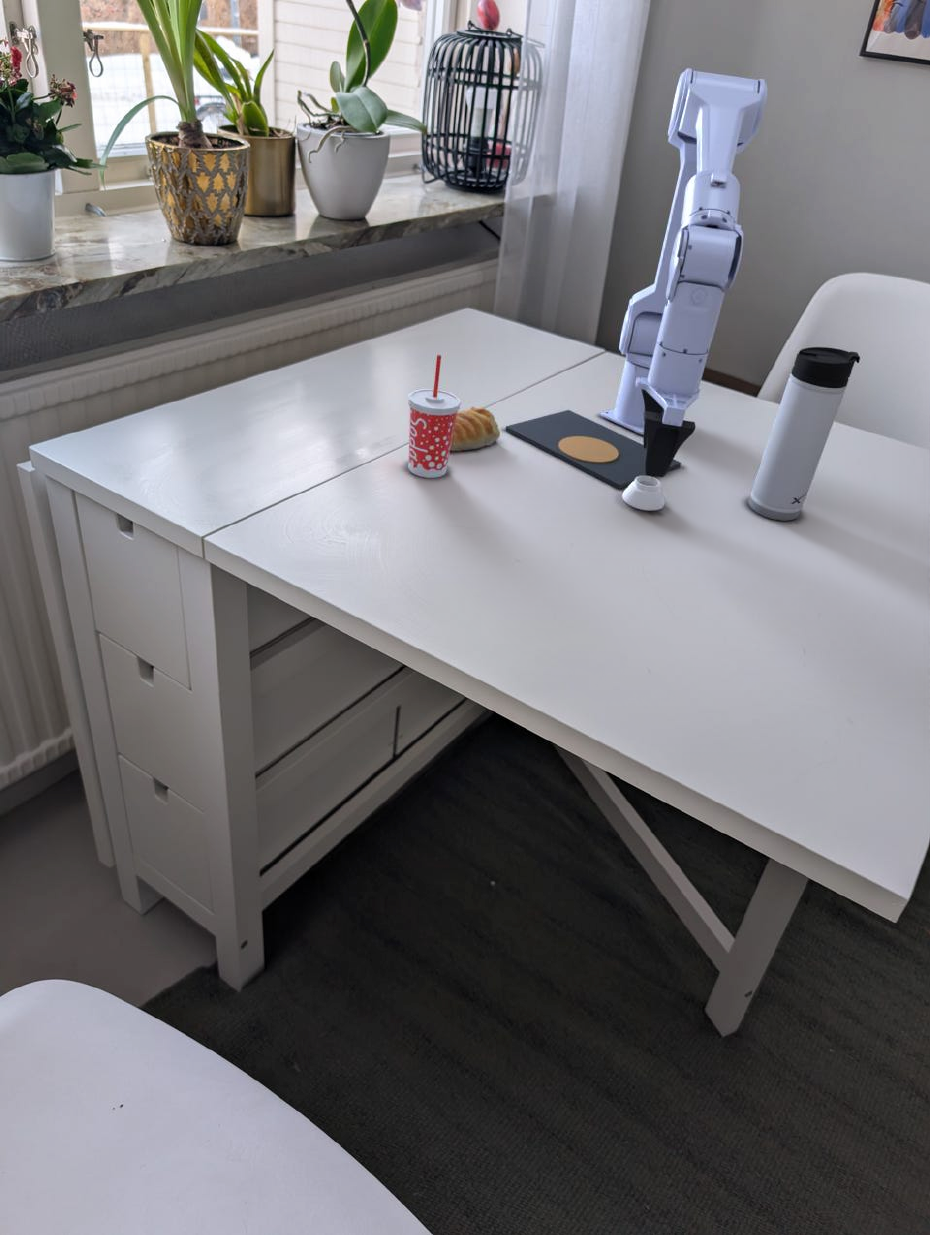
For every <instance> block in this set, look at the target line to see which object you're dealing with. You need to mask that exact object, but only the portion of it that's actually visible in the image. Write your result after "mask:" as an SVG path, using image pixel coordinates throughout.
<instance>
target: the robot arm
mask: <svg viewBox="0 0 930 1235" xmlns="http://www.w3.org/2000/svg"><path fill="white" fill-rule="evenodd" d="M767 98H768V85H767V83H766V80H765V79H764V78H758V79H754V78H747V77H740V76H732V75H728V74H727V75H726V74H720V73H714V72H713V73H712V72H705V71H698V70H693V69H692V68H689V67H688V68H686V69H685V70H684V71H683V72H682V73H681V74H680V76H679V79H678V82H677V87H676V91H675V95H674V101H673V104H672V110H671V115H670V120H669V121H670V122H669V125H668V131H667V136H668V140H667V142H668V143H669V144H671V145H672V146H673V147H675V148H677V149H678V150H679V156H680V167H679V168H680V169H679V174H678V179H677V182H676V186H675V191H674V195H673V200H672V203H671V208H670V213H669V216H668V221H667V226H666V230H665V234H664V235H665V236H664V239H663V242H662V248H661V252H660V256H659V261H658V266H657V270H656V274H655V279H654V283H652V284H651V285H649V286H648V287H645V288H644V289H641V290H640V291H638V292H636V293H634V294H633V295H632V297H631V298H630V299H629V302H628V306H627V310H626V312H625V315H624V319H623V323H622V327H621V333H620V338H619V345H618V346H619V347H618V349H619V351H620V353H621V355H622V356H623V355H624V356H625V361H624V365H623V370H622V375H621V380H620V384H619V387H618V392H617V398H616V402H615V406H614V408H613V409H609V410H605V411H602V412H601V414H600V416H601V417H602V418H604V419H607V420H608V421H611V422H613V423H615V424H618V425H620V426H622V427H624V428H626V429H628V430H630V431H633V432H634V433H637V434H639V435H642V437H643V439H642V440H643V441H642V442H643V444H642V445H644V448H646V459H645V472H646V475H651V476H653V477H657V478H664V477H665V476H666V474H667V472H668V471H667V470H668V469H669V467H670V465H671V463H672V461H673V459H674V460H675V456H676V455H677V453H678V452H679V450H680V448H681V447H682V445H683V444H684V443H685V442H686V440H687V439H689V437H690V436H691V435H693V433H694V432H695V430H696V426H697V425H696V421H692V420H685V419H684V418H685V415H686V412H687V410H688V409H689V408H690V407H691V406H692V405H693V404H694V403H695V402H696V401H697V400H698V399H699V397H700V394H701V393H700V392H701V389H700V386H701V382H702V378H703V374H704V371H705V368H706V364H707V360H708V356H709V353H710V349H711V345H712V343H713V338H714V334H715V330H716V326H717V324H718V320H719V316H720V312H721V309H722V306H723V302H724V298H725V294H726V293H725V290H726V291H727V292H729V291H730V290H731V289H732V287H733V284H734V282H735V280H736V278H737V277H736V276H738V272H739V268H740V265H741V261H742V256H743V248H744V247H743V246H744V231H743V230H742V225H741V224H738V220H739V219H738V218H739V208H740V198H741V185H740V182H739V180H738V178H737V177H736V175H734V174H733V173H732V171H733V168H734V164H735V159H736V155H738V154H741V153H742V152H743V151H744V150H745V148H746V147H747V146H748V145H749V144H750V142H751V141H752V140H753V138H754V137H755V136H756V135H757V133H758V131H759V128H760V125H761V123H762V122H761V121H762V119H763V115H764V113H765V109H766V104H767V103H766V102H767ZM724 288H725V290H724Z"/></svg>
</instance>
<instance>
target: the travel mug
mask: <svg viewBox="0 0 930 1235" xmlns="http://www.w3.org/2000/svg"><path fill="white" fill-rule="evenodd" d="M860 360H861V357H860V355H859V353H858V352H857V351H847V350H845V349H840V348H836V347H828V346H826V347H825V346H811V347H804V348H801V349H799V351H798V353H797V354H796V357H795V360H794V365H793V366H792V369H791V371H790V373H789V378H788V379H787V382H786V386H785V389H784V392H783V394H782V398H781V401H780V404H779V407H778V409H777V413H776V416H775V419H774V421H773V426H772V427H771V432H770V433H769V437H768V441H767V443H766V447H765V450H764V453H763V455H762V459H761V462H760V464H759V468H758V471H757V474H756V477H755V480H754V483H753V486H752V490H751V492H750V495H749V498H748V506H749V508H750V509H751V510H752V511H754V512H755V513H756V514H758V515H760V516H761V517H765V518H767V519H771V520H775V521H782V522H783V521H793V520H795V519H797V518H798V517H799V516H800V515H801V511H802V509H803V505H804V503H805V501H806V498H807V495H808V493H809V490H810V487H811V485H812V482H813V479H814V476H815V474H816V471H817V469H818V466H819V463H820V460H821V458H822V455H823V452H824V450H825V447H826V444H827V441H828V440H829V436H830V433H831V431H832V428H833V425H834V422H835V419H836V417H837V415H838V412H839V409H840V406H841V403H842V401H843V398H844V395H845V390H846V389H847V387H848V384H849V379H850V377H851V374H852V371H853V368H854V366H855V363H857V364H859V363H860Z"/></svg>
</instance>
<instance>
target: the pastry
mask: <svg viewBox="0 0 930 1235" xmlns="http://www.w3.org/2000/svg"><path fill="white" fill-rule="evenodd" d="M500 435H501V431H500V430H499V425H498V423H497V422H496V417H495V415H494V414H493V412H491V411H490V410H489V409H487V408H485V407H475V406H471V407H470V408H469V409H468V408H467V409H465V410H463V409H462V410H460V411H459V410H458V412H457V416H456V421H455V426H454V432H453V437H452V443H451V448H450V451H452V452H455V451H456V452H461V451H470V450H475V449H476V450H477V449H480V448H485V446H488V447H489V446H492V445H493V444H494V443H495V442H497V441H498V439H499V438H500Z"/></svg>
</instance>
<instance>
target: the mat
mask: <svg viewBox="0 0 930 1235" xmlns="http://www.w3.org/2000/svg"><path fill="white" fill-rule="evenodd" d="M505 431H506V432H508V433H509V434H512V435H514V436H515V437H517V438H520V439H521V440H523V441H525V442H527V443H529V444H531V445H533V446H535V447H536V448H538V449H541V450H542V451H544V452H546V453H549V454H550V455H552V456H554V457H556V458H558V459H560V460H562V461H564V462H566V463H568V464H570V465H571V466H574V467H575V468H578V469H579V470H581V471H583V472H585V473H587V474H588V475H591V476H593V477H595V478H597V479H598V480H600V481H603V482H604V483H606V484H608V485H610V486H612V487H615V488H616V489H618V490H620V489H623V488H627V487H628V486H629V485H630V484H631V483H632V482H633V481H634V480H635V478H636V477H638V476H650V477H653V478H654V476H651V475H646V472H645V459H646V448H644V444H642V443H640V442H638V441H636V440H634V439H632V438H630V437H627V436H625V435H623V434H621V433H619V432H617V431H614V430H613V429H610V428H608V427H606V426H604V425H601V424H600V423H597V422H595V421H593V420H592V419H589V418H587V417H585V416H582V415H580V414H578V413H577V412H574V411H572V410H570V409H567V410H563V411H558V412H555V413H552V414H548V415H544V416H540V417H537V418H532V419H529V420H525V421H522V422H518V423H514V424H509V425H506V426H505ZM681 464H682V463H681V462H680V461H679V460H676V459H675V458H674V459H673V461H672V463H671V465H670V467H669V469H668V470H667V472H670V471H672V470H675V469H678V468H680V467H681Z"/></svg>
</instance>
